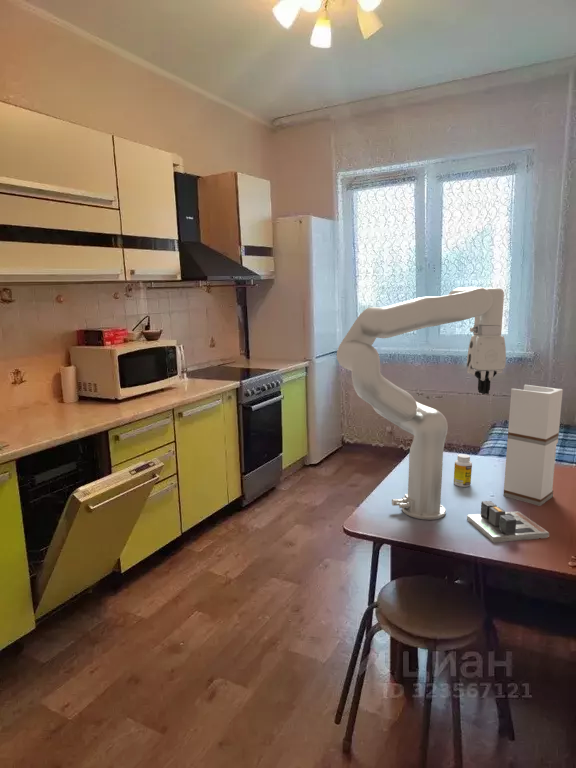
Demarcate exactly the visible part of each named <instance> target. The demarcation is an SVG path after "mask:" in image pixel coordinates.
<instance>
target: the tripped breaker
mask: <svg viewBox="0 0 576 768" xmlns="http://www.w3.org/2000/svg"><path fill="white" fill-rule="evenodd" d="M505 512H506V511H505V510H504V509H503V508H501V507H500V506H497V507H490V510H489V522H491V523H492V524H493V525H494V526H499V521H500V515H505Z"/></svg>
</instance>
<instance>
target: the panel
mask: <svg viewBox="0 0 576 768" xmlns="http://www.w3.org/2000/svg"><path fill="white" fill-rule="evenodd" d="M480 503H481V504H480V506H481V507H480V513H475V514H473V513H472V514H467V516H466V520H467V521H468V522H469V523H470V524H471V525H472V526H474V528H475V529H477V530H478V531H479V532H480V533H482V534H483V535H484V536H485V537H486V538H487V539H488V540H489V541H490V542H492V543H500V542H501V543H502V542H513V541H525V540H540V539H539V538H541V539H548V538H547V537H550V532H549V531H547V530H546V529H545V528H543V527H541V525H539V524H537V523H536V522H535V521H533V520H532V519H530V518H528V517H527V515H525V514H523V513H521V511H517V510H516V511H505V515H500V521H499V526H494V525H493V524H492V523H491V522H489V510H490V507H498V505H497V504H496V503H494V502H493V501H492V500H488V501H487V500H485V501H484V500H483V501H481V502H480Z"/></svg>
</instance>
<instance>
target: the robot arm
mask: <svg viewBox="0 0 576 768" xmlns="http://www.w3.org/2000/svg"><path fill="white" fill-rule="evenodd" d="M504 300H505V292H504V290H503V289H502V288H499V287H482V286H478V287H477V286H464V287H463V286H461V287H457V288H454V289H452V290H451V291H450V292H449V293H448V294H447V295H440V296H439V295H438V296H435V295H434V296H432V295H431V296H422V297H417V298H413V299H409V300H405V301H402V302H398V303H394V304H391V305H386V306H382V307H380V306H379V307H378V306H370V307H367V308H366V309H364V310H363V311H362V312H361V313H360V314H359V315H358V317H357V318H356V320H355V321H354V322H353V324H352V325H351V327H350V329H349V330H348V331H347V333H346V334H345V336H344V338H343V339H342V340H341V342H340V344H339V346H338V347H337V351H336V359H337V362H338V364H339V365H340V367H342V368H344V369H345V370H348V371H351V381H352V387H353V389H354V392H355V393H356V394H357V396H358V397H359V398H360V399H361V400H363V401H364V402H365V403H367V404H369V405H370V406H371V408H372V409H373V410H374V411H375V413H376V414H378V415H379V416H381V417H382V418H384V419H386V420H387V421H389V422H391V424H394V425H395V426H397V427H398V428H400V429H402V430H403V431H405V432H407V433H409V434H411V435H412V436H413V439H412V442H411V445H410V448H409V456H408V461H409V462H408V483H407V486H408V487H407V493H405V494H404V497H401V498H393V499H391V505H392V506H393V507H395V506H397V507H398V508H399V509H401V511H402V512H403V513H404V514H405V515H406V516H409V517H411V518H414V519H419V520H429V521H430V520H431V521H432V520H438V519H439V520H440V519H441V518H444V516H445V515H446V511H447V510H446V507H444V506H443V505H442V504H441V502H442V500H441V499H442V482H443V481H442V480H443V465H444V463H443V459H444V448H445V442H446V439H447V438H446V437H447V434H448V428H449V427H448V426H449V424H448V420H447V418H446V417H445V415H444V414H443V413H442V412H441V411H439V410H438V409H436V408H433V407H430V406H428V405H425V404H423V403H420V402H419V401H416V399H415V398H414V397H413V395H412V394H411V393H409V392H408V391H406V390H405V389H403V388H401V387H399V386H397V385H396V384H394V383H393V382H392V381H390V380H389V379H387V378H386V377H384V375H382V372H381V361H380V360H381V358H380V355H379V352H378V351H377V349H376V348H375V346H373V344H374V342H375V341H376V340H377V338H378V339H389V338H393V337H396V336H400V335H404V334H408V333H411V332H414V331H418V330H421V329H425V328H430V327H431V328H432V327H437V326H442V325H445V324H446V325H447V324H451V323H457V322H462V321H465V320H469V319H472V318H473V319H474V321H473V322H474V325H473V326H472V327H470V328H469V332H470V333H472V334H473V335H471V336H470V337H471V338H470V341H469V344H468V350H467V356H466V357H467V358H466V366H467V371H466V373H467V374H469V375H473V376H474V377H475V378H476V379H477V381H478V382H477V392H478V393H479V394H482V395H489V394H490V390H491V381H493V380H494V379H493V378H494V377H495V376H496V375H499V374H502V373H503V372H504V369H505V368H506V363H507V362H506V361H507V357H506V356H507V354H506V352H507V350H506V341H505V336H503V335H502V332H503V331H502V330H503V329H502V328H503V315H504Z"/></svg>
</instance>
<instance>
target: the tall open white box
mask: <svg viewBox="0 0 576 768" xmlns="http://www.w3.org/2000/svg"><path fill="white" fill-rule="evenodd" d="M510 390H511V391H510V405H509V414H508V415H509V417H508V430H507V440H506V441H507V442H506V444H507V445H506V457H505V470H504V483H503V494H502V495H503V497H506V498H510V499H513V500H514V499H515V500H518V501H521V502H524V503H529V504H531V505H534V506H539V507H540V506H543V505H544V504H545V503H546V502H548V501H549V500H550V499H552V498H553V497H554V489H553V486H554V476H555V474H554V473H555V465H556V464H555V463H556V452H557V444H558V443H559V435H560V425H561V423H560V422H561V412H562V403H563V402H562V401H563V391H564V389H562V388H554V387H546V386H538V385H530V384H524V385H523V389H520V388H519V389H518V388H510Z"/></svg>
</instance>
